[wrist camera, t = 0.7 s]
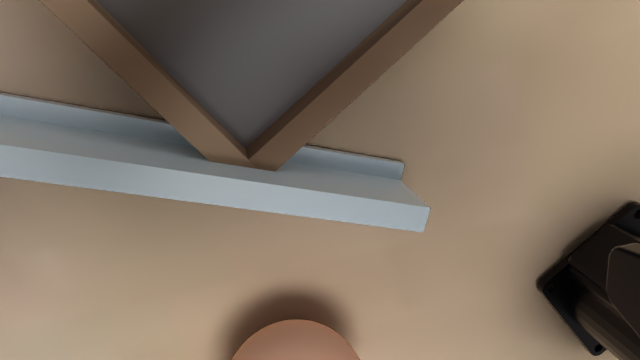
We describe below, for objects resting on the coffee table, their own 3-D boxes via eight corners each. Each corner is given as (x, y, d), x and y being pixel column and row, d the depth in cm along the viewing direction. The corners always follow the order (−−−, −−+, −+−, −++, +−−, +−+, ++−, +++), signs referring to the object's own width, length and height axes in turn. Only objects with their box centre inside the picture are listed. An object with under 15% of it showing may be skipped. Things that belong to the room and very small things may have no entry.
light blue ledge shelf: (401, 161, 22) (436, 190, 19) (386, 212, 22) (417, 249, 19) (-26, 87, 17) (-77, 108, 14) (-28, 154, 18) (-77, 189, 15)
